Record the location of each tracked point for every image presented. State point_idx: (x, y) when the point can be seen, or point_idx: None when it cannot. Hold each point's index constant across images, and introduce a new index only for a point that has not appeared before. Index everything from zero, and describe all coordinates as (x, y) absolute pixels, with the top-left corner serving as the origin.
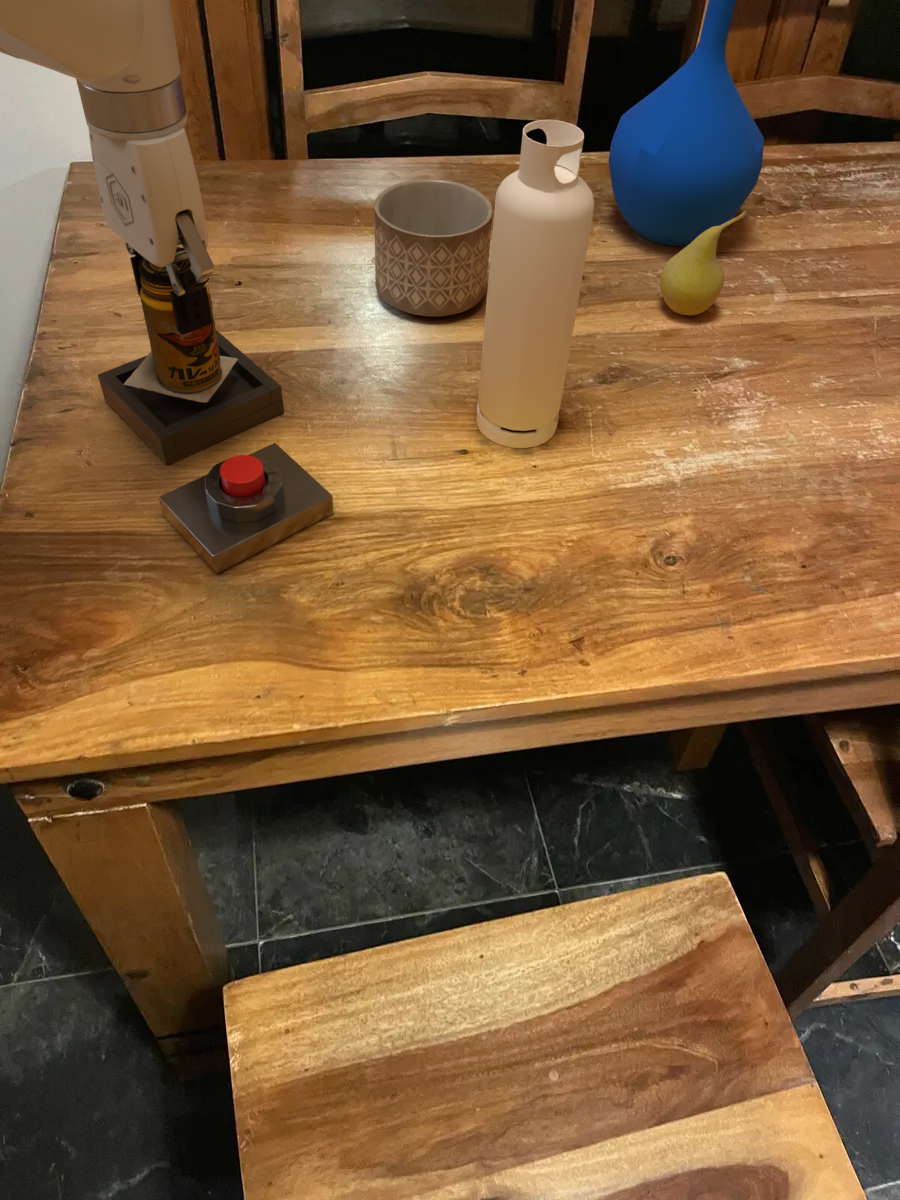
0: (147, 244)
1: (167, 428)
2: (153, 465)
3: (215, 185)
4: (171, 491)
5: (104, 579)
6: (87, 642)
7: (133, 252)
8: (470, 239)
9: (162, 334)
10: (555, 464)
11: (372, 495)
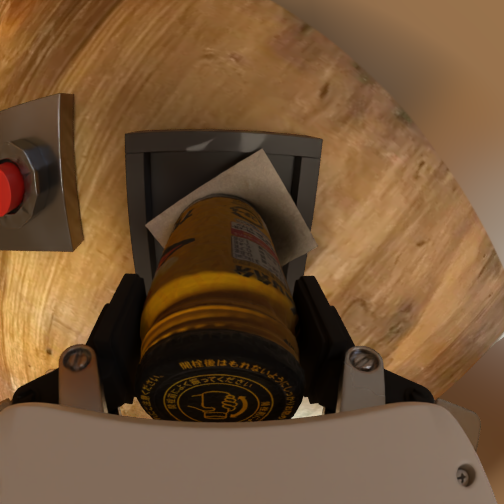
0: (23, 473)
1: (139, 152)
2: (150, 118)
3: (448, 373)
4: (58, 110)
5: (48, 21)
6: (15, 4)
7: (344, 361)
8: None
9: (182, 246)
10: (29, 373)
11: (21, 277)
